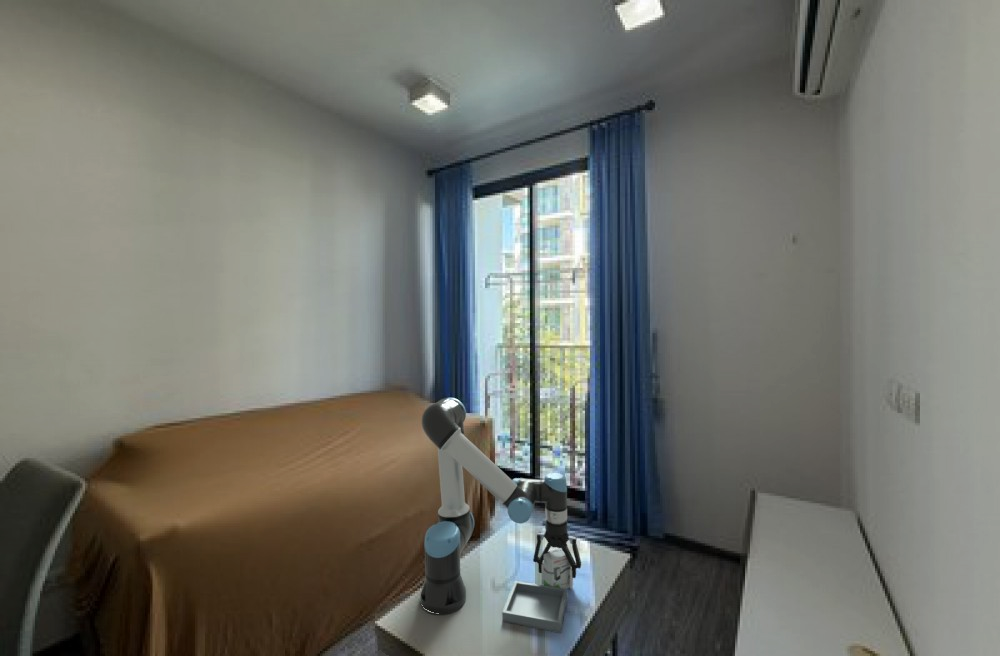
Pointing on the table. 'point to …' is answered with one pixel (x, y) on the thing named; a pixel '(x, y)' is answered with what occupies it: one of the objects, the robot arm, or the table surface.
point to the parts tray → (535, 606)
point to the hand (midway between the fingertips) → (557, 583)
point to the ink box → (556, 569)
